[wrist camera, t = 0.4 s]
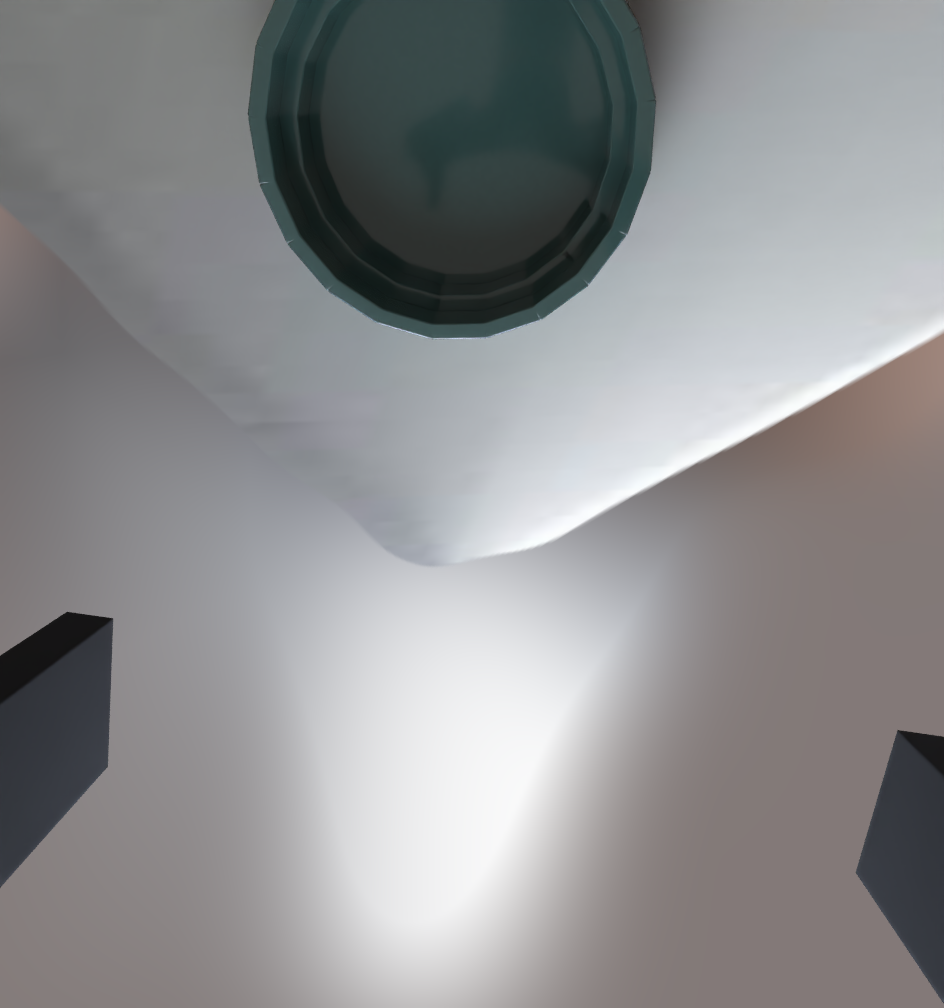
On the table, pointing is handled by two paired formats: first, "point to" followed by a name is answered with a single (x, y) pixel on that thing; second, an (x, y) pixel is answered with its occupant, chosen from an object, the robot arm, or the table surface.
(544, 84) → the bowl
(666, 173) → the table surface
